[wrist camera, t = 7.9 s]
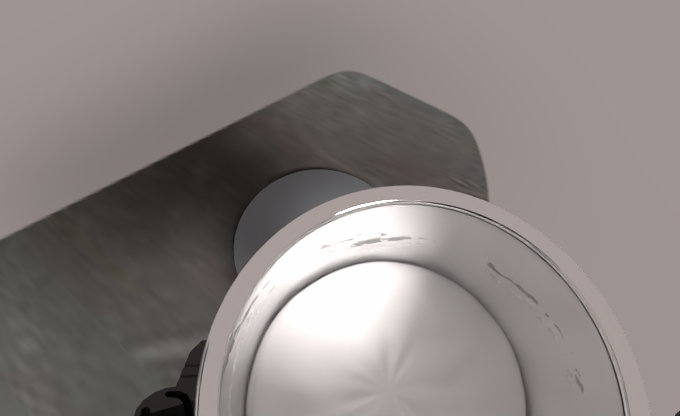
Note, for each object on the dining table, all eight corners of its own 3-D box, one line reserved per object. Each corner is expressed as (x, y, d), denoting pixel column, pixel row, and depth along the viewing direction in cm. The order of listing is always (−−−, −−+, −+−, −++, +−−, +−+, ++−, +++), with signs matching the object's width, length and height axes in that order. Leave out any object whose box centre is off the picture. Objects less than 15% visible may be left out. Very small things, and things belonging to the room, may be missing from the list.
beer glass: (261, 358, 20) (121, 272, 7) (388, 296, 22) (489, 119, 8) (321, 516, 18) (295, 902, 4) (461, 435, 19) (789, 521, 6)
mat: (219, 319, 33) (216, 318, 33) (253, 166, 39) (251, 161, 38) (395, 340, 33) (397, 339, 32) (404, 182, 39) (405, 177, 38)
